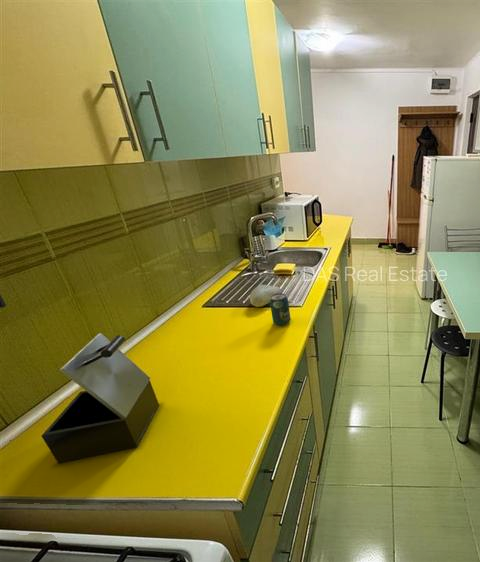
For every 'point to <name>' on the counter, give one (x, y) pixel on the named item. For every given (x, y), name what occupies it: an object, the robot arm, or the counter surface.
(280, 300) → the soda can
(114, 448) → the black hollow box
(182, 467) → the counter surface
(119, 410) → the lid
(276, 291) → the rock
